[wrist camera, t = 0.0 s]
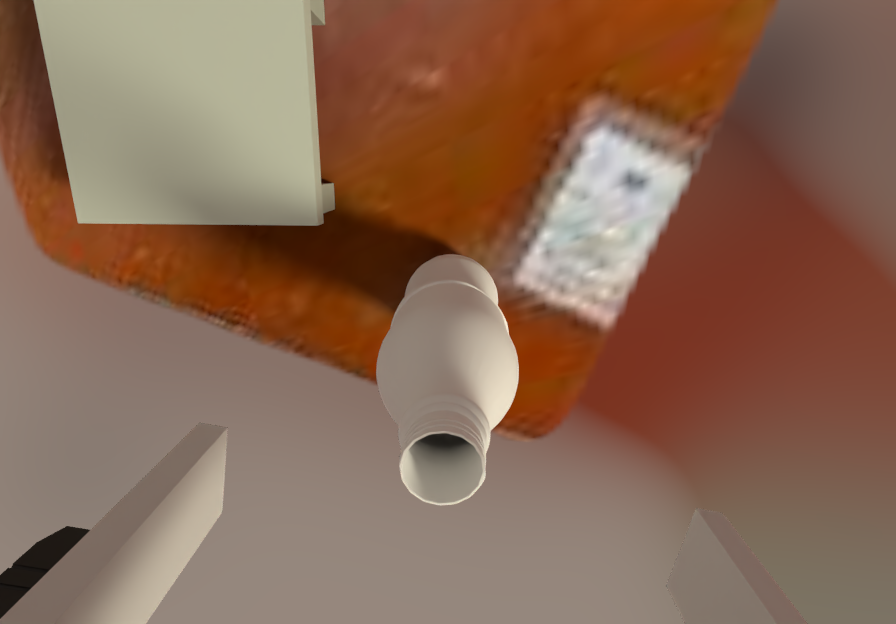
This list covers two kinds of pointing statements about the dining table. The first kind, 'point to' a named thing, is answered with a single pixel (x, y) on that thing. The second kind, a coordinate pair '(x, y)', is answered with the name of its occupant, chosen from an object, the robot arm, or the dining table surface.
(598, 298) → the dining table surface
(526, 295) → the dining table surface
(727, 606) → the robot arm
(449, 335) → the water bottle
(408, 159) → the dining table surface
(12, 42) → the dining table surface
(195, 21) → the small white table
